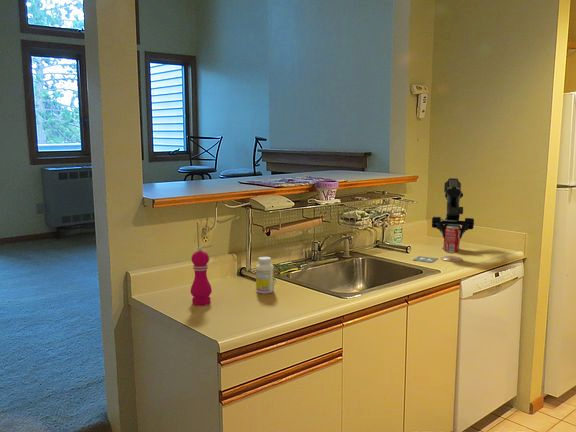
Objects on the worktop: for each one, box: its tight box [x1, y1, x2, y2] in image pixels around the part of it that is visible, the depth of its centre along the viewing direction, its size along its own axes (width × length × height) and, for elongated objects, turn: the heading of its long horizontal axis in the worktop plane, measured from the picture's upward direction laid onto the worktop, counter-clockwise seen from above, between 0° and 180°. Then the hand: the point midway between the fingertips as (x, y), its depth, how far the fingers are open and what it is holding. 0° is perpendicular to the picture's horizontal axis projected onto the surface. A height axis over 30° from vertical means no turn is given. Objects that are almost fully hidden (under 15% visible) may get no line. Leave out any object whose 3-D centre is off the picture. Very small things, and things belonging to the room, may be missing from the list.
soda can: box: [442, 226, 461, 254], centre depth 253 cm, size 7×7×12 cm
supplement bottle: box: [255, 256, 275, 295], centre depth 203 cm, size 7×7×13 cm
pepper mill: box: [190, 246, 213, 307], centre depth 189 cm, size 7×7×20 cm
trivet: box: [439, 255, 463, 263], centre depth 254 cm, size 10×10×1 cm
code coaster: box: [412, 255, 439, 264], centre depth 254 cm, size 9×9×1 cm
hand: (452, 238), depth 251 cm, fingers closed on soda can, 7 cm apart
